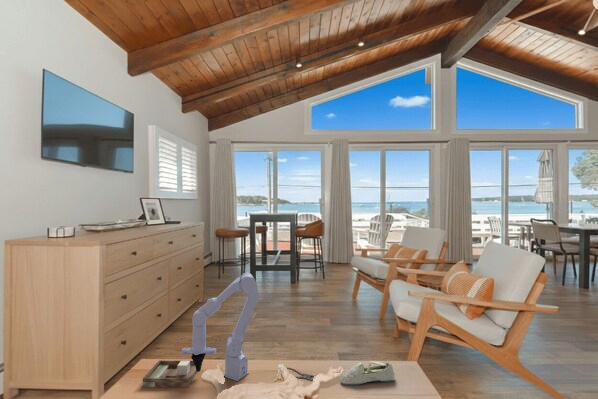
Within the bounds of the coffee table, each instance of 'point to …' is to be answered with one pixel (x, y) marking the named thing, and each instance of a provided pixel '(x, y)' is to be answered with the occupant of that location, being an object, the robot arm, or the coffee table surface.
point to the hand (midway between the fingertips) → (198, 370)
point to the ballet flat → (368, 373)
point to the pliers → (303, 375)
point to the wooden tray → (168, 375)
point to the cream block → (183, 368)
